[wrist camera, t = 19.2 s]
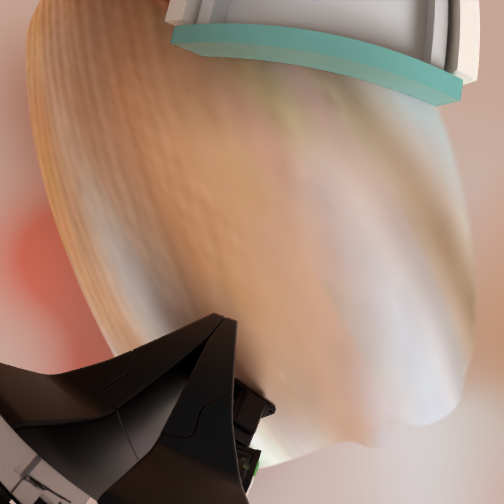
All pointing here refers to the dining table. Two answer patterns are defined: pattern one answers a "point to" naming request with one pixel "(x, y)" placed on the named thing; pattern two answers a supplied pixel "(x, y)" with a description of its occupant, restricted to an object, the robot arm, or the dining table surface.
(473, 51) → the tray sleeve
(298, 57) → the grey tray
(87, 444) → the robot arm
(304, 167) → the dining table surface
